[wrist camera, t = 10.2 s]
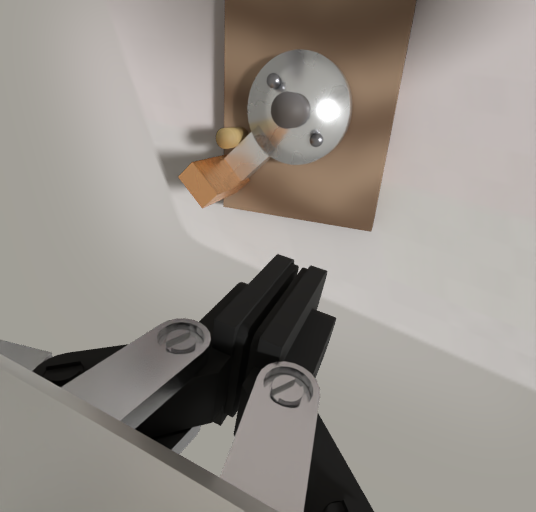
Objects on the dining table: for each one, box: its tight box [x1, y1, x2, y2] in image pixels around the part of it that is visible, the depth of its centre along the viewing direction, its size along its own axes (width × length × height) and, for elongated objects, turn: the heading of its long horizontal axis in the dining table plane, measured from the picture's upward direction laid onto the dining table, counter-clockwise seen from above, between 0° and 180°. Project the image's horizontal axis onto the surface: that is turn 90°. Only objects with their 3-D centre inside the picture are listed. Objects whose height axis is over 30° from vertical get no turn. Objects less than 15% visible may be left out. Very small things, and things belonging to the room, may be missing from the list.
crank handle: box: [178, 49, 352, 208], centre depth 26 cm, size 13×8×6 cm, turn 130°
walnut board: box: [216, 0, 417, 231], centre depth 26 cm, size 18×14×6 cm
